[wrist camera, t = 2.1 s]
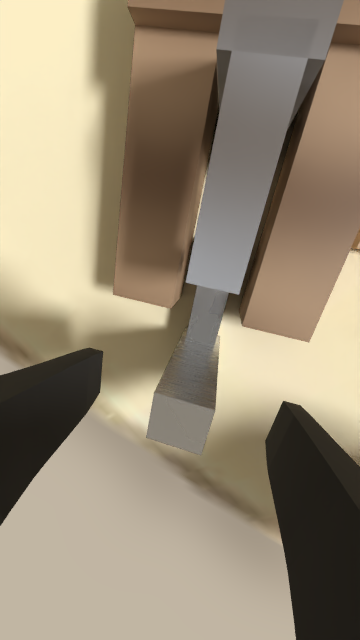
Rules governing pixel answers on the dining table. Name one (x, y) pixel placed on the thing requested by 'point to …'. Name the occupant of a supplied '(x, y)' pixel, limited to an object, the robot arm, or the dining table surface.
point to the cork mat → (357, 241)
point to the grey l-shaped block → (190, 378)
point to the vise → (242, 154)
